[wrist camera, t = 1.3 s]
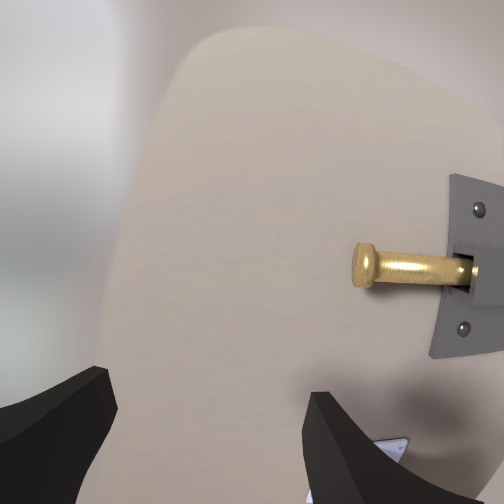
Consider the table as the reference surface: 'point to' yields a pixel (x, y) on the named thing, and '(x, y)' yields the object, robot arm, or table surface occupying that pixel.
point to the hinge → (473, 272)
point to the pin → (407, 268)
